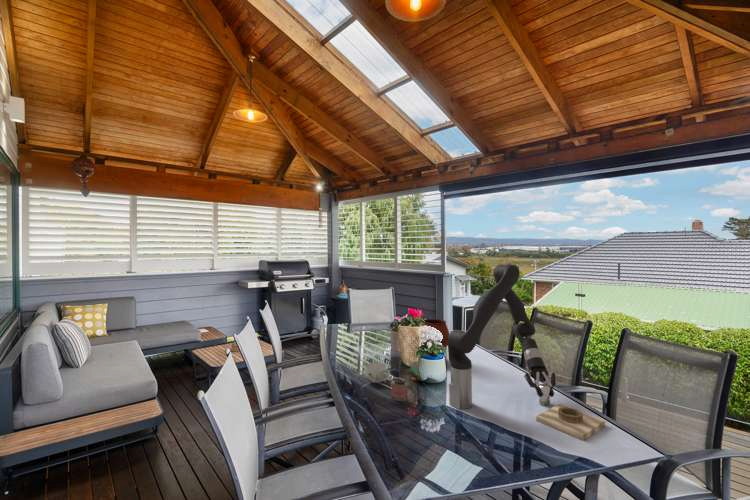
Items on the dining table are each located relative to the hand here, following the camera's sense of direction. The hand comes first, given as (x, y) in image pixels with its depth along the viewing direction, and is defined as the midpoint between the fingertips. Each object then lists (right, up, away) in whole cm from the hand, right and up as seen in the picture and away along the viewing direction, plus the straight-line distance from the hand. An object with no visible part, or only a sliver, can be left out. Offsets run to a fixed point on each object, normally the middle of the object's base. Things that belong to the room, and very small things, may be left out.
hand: (546, 396), depth 155 cm
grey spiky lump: (-74, -5, +31) cm, 81 cm away
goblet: (-39, -4, +62) cm, 74 cm away
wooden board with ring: (+2, -5, -15) cm, 16 cm away
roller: (0, -4, +2) cm, 5 cm away
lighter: (-65, -6, +9) cm, 66 cm away
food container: (-51, -5, +32) cm, 61 cm away
